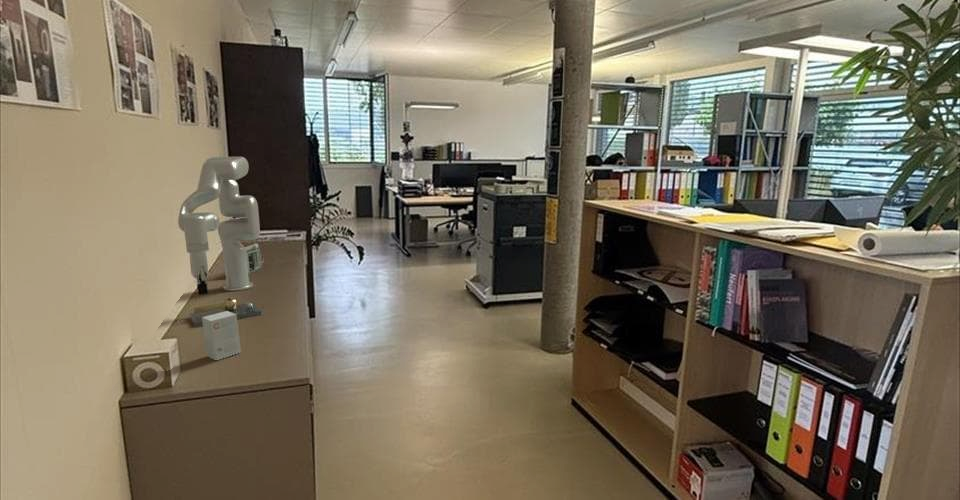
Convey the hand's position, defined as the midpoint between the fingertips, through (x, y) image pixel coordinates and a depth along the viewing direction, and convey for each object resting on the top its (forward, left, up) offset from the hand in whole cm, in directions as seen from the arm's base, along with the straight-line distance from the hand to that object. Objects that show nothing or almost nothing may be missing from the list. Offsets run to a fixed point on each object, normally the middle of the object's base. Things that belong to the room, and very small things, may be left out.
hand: (203, 293), depth 205 cm
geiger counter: (-65, +31, -9) cm, 72 cm away
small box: (+49, -3, -9) cm, 50 cm away
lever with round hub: (+5, +3, -7) cm, 9 cm away
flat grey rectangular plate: (+7, +6, -8) cm, 13 cm away
